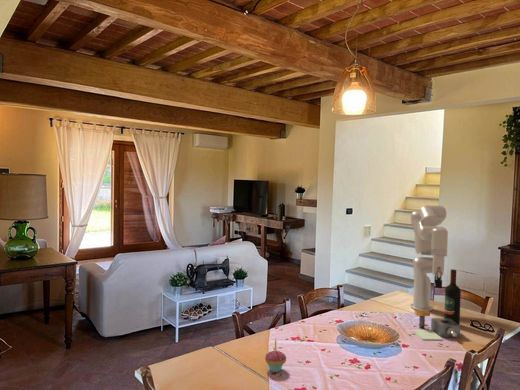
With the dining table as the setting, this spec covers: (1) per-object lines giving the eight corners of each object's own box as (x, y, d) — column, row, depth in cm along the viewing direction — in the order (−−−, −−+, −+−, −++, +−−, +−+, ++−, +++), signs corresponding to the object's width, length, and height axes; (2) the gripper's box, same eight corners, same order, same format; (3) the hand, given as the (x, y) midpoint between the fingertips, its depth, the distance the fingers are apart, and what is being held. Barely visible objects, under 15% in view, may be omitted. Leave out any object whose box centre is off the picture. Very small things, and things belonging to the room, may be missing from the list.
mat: (412, 330, 199) (412, 329, 199) (431, 330, 199) (431, 329, 199) (422, 340, 187) (422, 338, 187) (442, 340, 187) (443, 339, 187)
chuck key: (414, 326, 204) (414, 310, 204) (427, 327, 204) (427, 310, 204) (416, 328, 202) (416, 311, 201) (429, 329, 202) (430, 312, 201)
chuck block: (431, 329, 201) (431, 318, 201) (449, 329, 201) (450, 318, 201) (444, 341, 186) (445, 328, 186) (465, 341, 186) (465, 329, 186)
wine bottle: (461, 327, 205) (463, 271, 204) (446, 326, 206) (448, 271, 205) (457, 322, 212) (458, 268, 211) (442, 321, 214) (444, 268, 213)
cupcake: (264, 364, 158) (264, 335, 158) (284, 364, 159) (284, 335, 159) (266, 374, 150) (266, 344, 150) (287, 374, 151) (288, 344, 150)
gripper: (430, 249, 206) (429, 280, 207) (431, 254, 191) (430, 288, 191) (446, 250, 203) (445, 282, 204) (448, 255, 188) (447, 290, 188)
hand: (438, 285), depth 197 cm, fingers open, 9 cm apart
